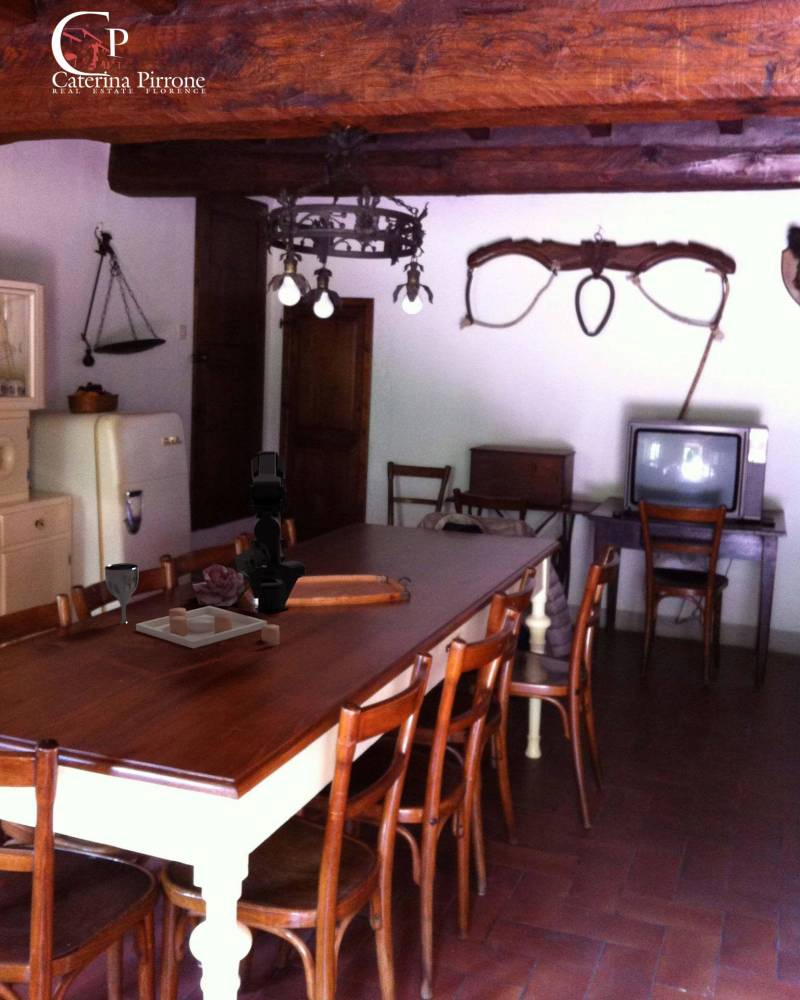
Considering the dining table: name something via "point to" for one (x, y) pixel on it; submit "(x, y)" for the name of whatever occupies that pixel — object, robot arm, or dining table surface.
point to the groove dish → (201, 627)
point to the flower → (220, 586)
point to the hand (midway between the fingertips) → (269, 601)
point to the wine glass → (122, 582)
